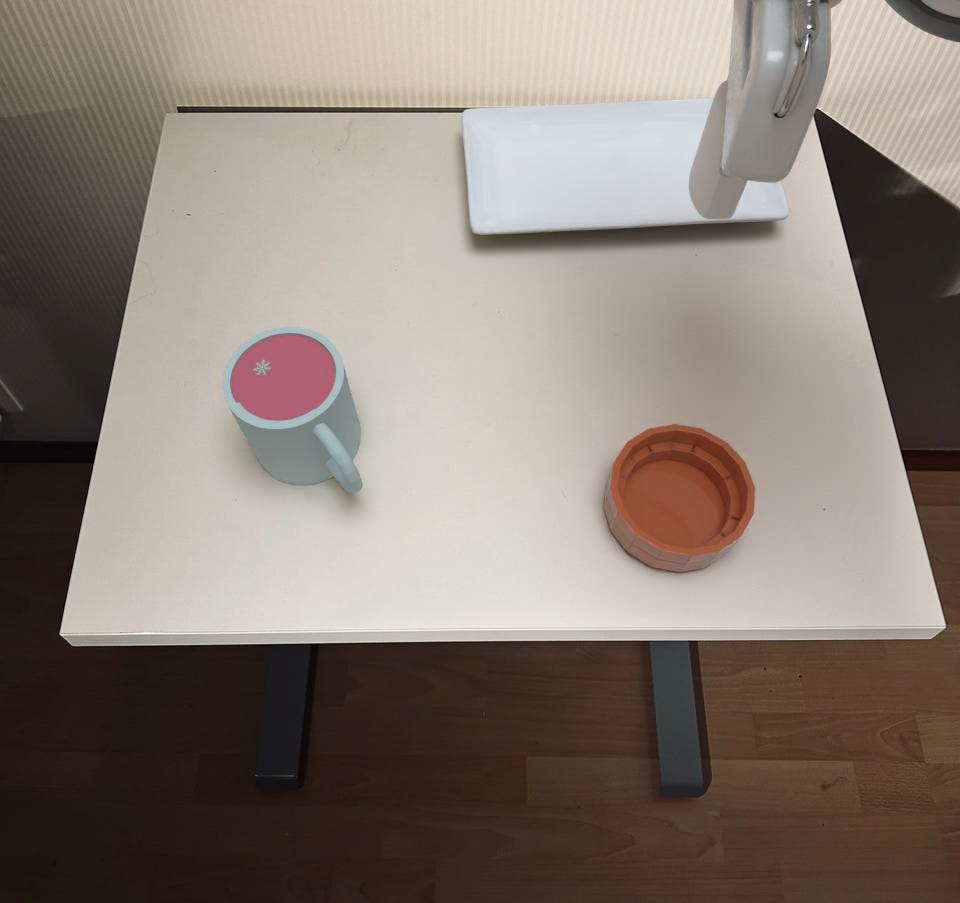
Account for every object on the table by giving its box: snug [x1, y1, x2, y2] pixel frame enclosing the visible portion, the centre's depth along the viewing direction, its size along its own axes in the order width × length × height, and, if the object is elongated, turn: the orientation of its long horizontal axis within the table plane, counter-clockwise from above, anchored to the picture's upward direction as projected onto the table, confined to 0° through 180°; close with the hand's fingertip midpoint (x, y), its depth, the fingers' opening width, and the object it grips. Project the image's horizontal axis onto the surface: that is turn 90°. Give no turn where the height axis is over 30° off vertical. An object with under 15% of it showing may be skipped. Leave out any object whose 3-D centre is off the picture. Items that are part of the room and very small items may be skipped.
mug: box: [221, 326, 363, 494], centre depth 64 cm, size 14×9×10 cm
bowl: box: [603, 423, 756, 573], centre depth 65 cm, size 11×11×4 cm
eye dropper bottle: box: [689, 79, 748, 219], centre depth 53 cm, size 4×6×12 cm
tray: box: [460, 97, 791, 236], centre depth 82 cm, size 17×32×4 cm, turn 94°
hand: (733, 131), depth 54 cm, fingers closed on eye dropper bottle, 5 cm apart
